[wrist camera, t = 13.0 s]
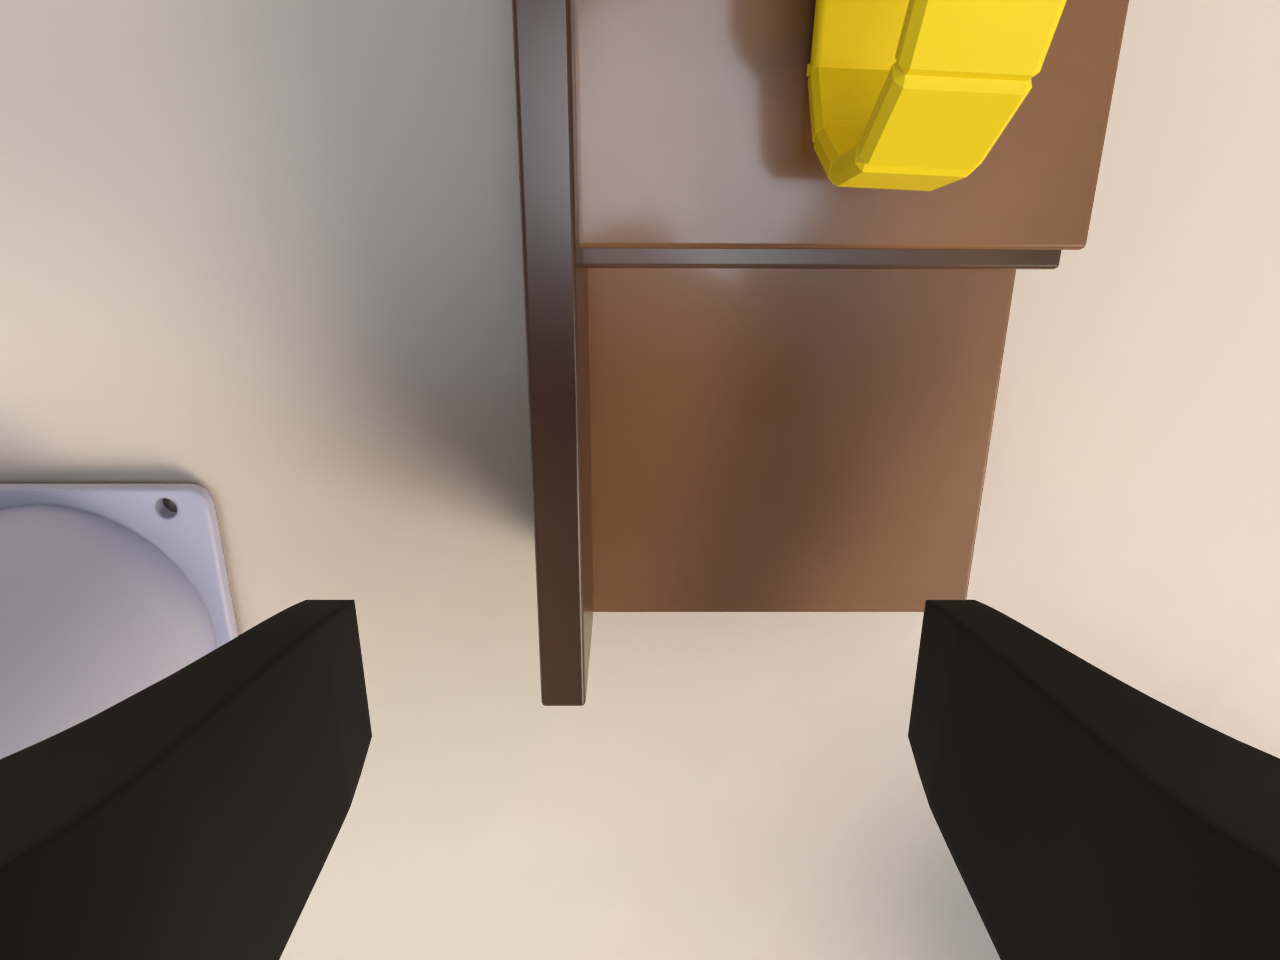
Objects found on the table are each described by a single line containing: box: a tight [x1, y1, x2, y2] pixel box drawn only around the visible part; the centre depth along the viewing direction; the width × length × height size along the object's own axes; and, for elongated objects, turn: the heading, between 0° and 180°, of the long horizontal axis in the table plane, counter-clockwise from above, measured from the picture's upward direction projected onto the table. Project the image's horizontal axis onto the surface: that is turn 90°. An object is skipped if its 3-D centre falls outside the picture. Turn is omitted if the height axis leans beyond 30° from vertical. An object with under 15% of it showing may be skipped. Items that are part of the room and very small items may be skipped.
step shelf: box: [512, 0, 1129, 706], centre depth 16 cm, size 9×16×6 cm, turn 0°
